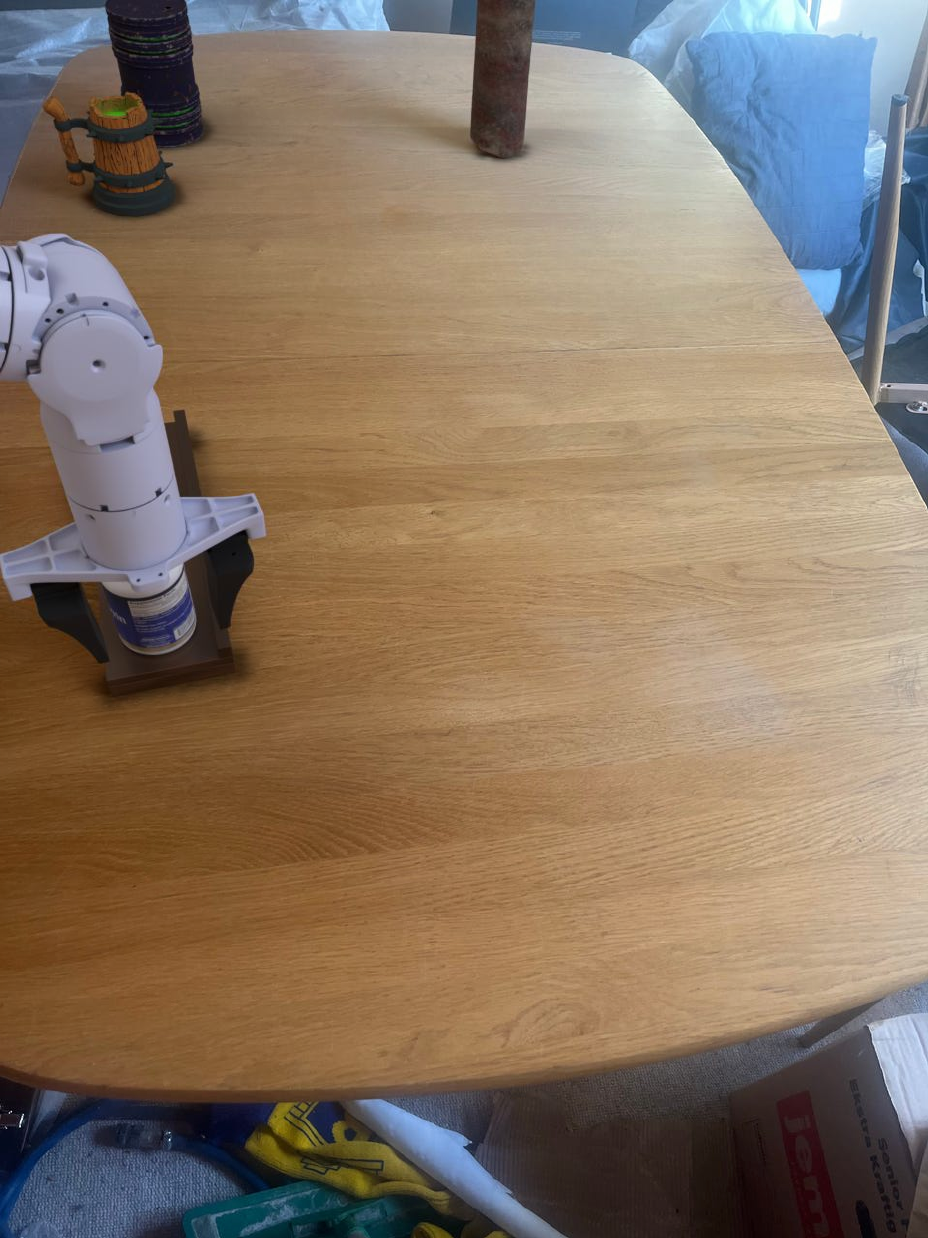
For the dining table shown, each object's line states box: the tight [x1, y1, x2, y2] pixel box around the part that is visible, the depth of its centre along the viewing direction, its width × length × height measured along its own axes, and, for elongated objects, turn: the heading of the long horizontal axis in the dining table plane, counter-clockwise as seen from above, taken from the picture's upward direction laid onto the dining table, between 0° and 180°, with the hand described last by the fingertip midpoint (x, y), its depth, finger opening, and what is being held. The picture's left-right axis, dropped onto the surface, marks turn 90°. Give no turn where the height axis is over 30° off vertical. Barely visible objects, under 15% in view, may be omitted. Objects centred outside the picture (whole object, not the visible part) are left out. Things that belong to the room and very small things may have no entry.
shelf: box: [96, 409, 237, 698], centre depth 78 cm, size 9×28×3 cm, turn 17°
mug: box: [41, 92, 177, 217], centre depth 112 cm, size 13×10×12 cm
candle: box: [469, 0, 537, 159], centre depth 124 cm, size 8×7×20 cm
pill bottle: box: [101, 563, 196, 655], centre depth 68 cm, size 6×6×10 cm
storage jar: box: [104, 0, 205, 148], centre depth 122 cm, size 10×10×15 cm
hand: (162, 634), depth 62 cm, fingers open, 7 cm apart
